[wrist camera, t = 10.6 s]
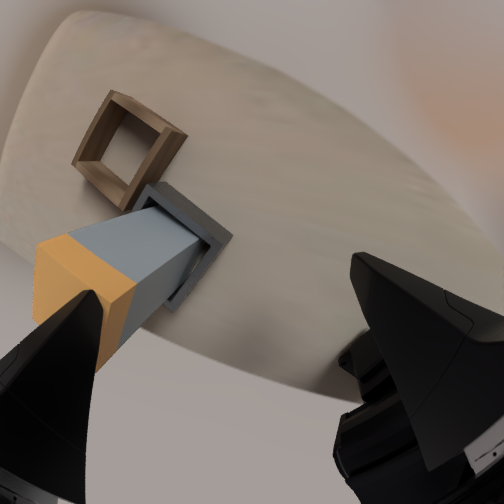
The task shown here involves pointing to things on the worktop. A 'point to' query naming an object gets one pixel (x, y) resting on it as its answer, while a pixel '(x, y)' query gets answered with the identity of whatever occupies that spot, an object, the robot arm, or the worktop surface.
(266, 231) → the worktop surface
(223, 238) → the socket
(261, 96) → the worktop surface
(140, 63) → the worktop surface
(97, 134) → the square frame
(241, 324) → the worktop surface
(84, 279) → the plug
